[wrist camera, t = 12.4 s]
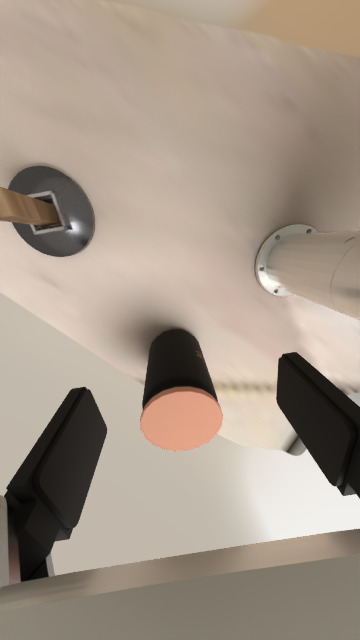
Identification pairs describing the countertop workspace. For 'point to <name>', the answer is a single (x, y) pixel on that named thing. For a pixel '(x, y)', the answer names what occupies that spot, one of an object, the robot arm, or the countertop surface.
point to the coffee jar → (179, 394)
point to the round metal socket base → (69, 208)
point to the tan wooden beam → (26, 209)
